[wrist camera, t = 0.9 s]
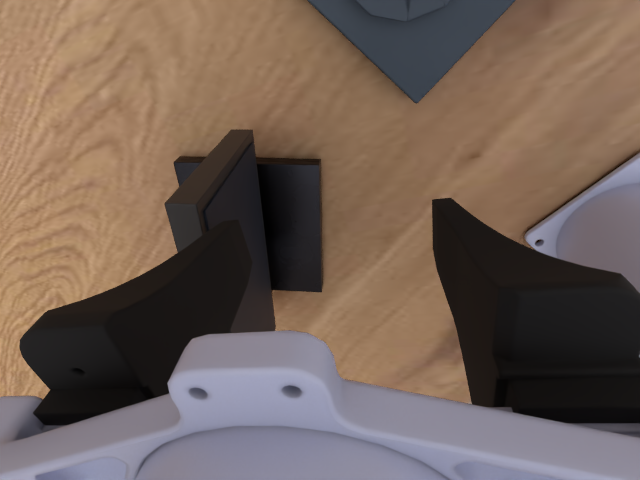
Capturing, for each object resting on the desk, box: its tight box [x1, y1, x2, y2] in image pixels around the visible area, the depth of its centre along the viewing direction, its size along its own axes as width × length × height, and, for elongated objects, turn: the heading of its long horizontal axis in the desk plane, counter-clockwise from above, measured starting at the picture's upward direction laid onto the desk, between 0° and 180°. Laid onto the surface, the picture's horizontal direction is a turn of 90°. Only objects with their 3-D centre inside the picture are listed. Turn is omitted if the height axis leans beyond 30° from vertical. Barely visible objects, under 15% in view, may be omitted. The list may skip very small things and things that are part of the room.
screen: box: [165, 130, 276, 333], centre depth 21 cm, size 2×15×8 cm, turn 1°
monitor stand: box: [174, 157, 323, 292], centre depth 25 cm, size 9×10×4 cm
